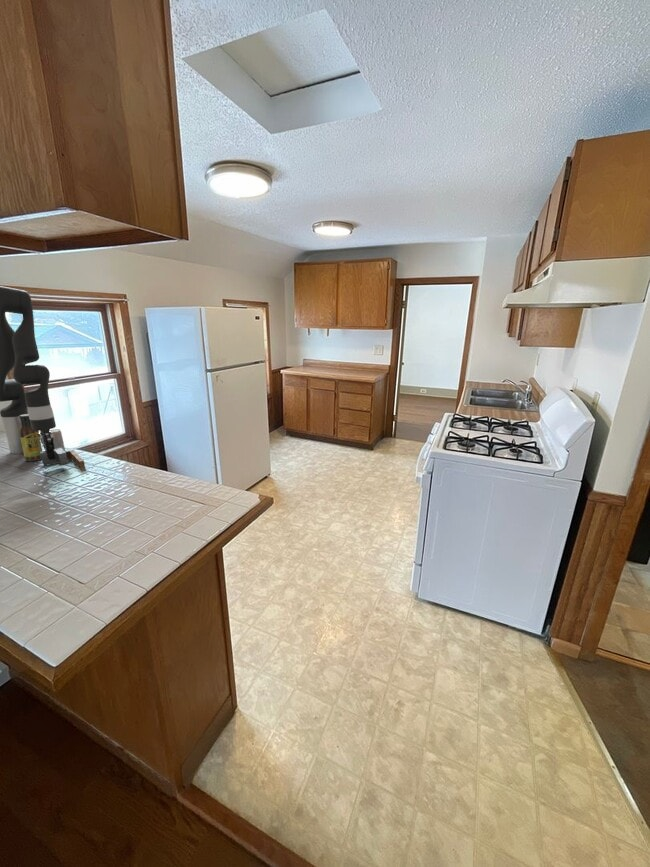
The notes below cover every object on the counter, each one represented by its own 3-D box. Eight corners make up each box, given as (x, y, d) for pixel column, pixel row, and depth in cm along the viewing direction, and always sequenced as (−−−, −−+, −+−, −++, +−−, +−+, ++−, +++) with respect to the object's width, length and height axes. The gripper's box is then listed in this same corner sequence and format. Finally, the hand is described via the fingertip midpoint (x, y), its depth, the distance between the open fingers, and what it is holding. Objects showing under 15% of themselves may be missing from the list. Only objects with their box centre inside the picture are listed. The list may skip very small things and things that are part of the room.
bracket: (63, 459, 144) (61, 447, 142) (68, 464, 138) (65, 452, 137) (42, 463, 139) (39, 451, 137) (46, 469, 133) (43, 456, 132)
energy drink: (54, 455, 156) (48, 429, 152) (68, 454, 157) (62, 428, 154) (49, 459, 151) (43, 433, 148) (63, 458, 153) (57, 432, 149)
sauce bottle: (32, 462, 147) (21, 417, 141) (21, 460, 148) (10, 416, 143) (47, 457, 153) (37, 414, 147) (37, 456, 154) (27, 412, 149)
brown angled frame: (43, 464, 145) (41, 455, 144) (74, 458, 152) (73, 449, 151) (52, 477, 132) (49, 467, 131) (85, 469, 140) (83, 460, 139)
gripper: (57, 418, 132) (66, 460, 137) (50, 412, 142) (59, 452, 147) (32, 421, 127) (42, 465, 132) (26, 415, 136) (36, 456, 141)
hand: (51, 458), depth 139 cm, fingers closed on bracket, 2 cm apart
